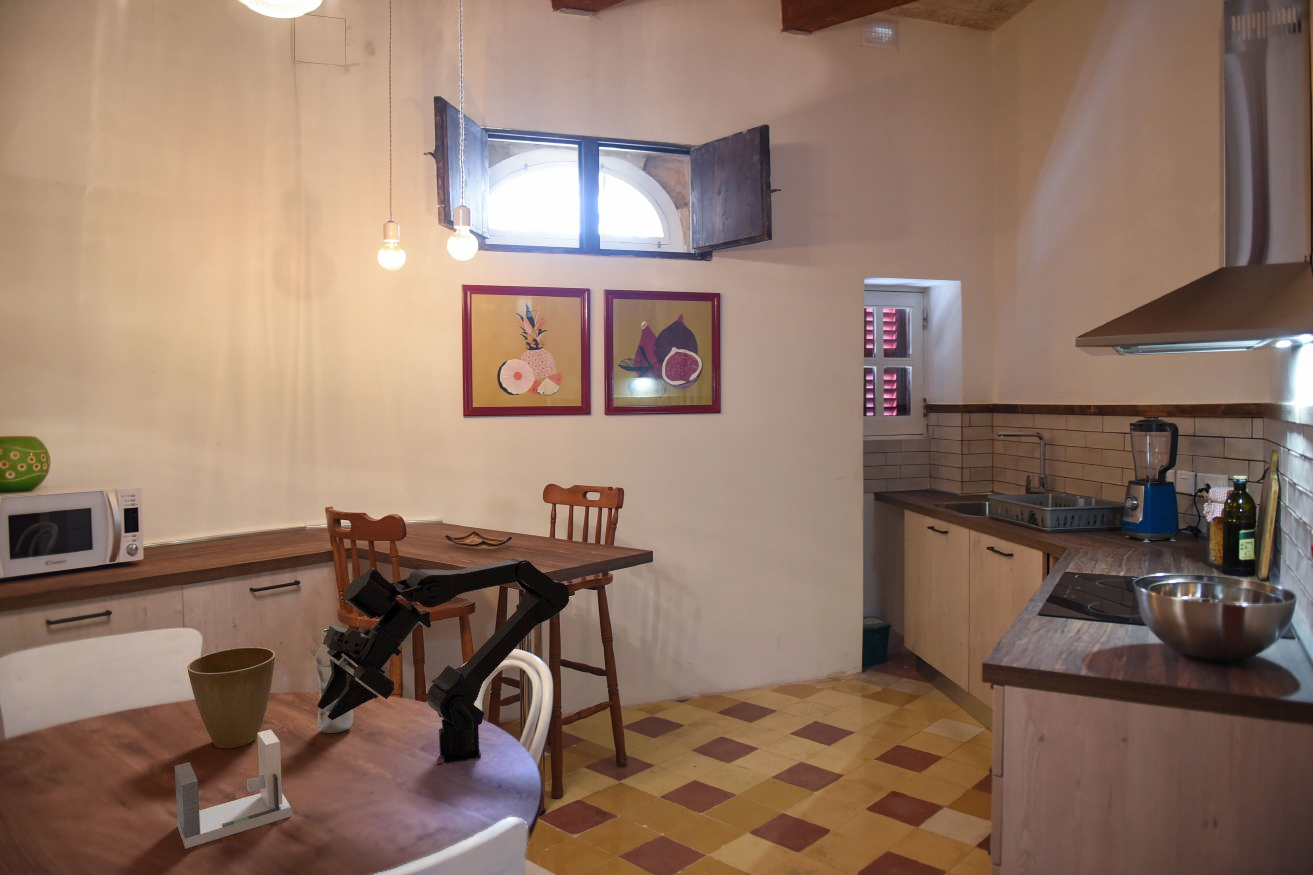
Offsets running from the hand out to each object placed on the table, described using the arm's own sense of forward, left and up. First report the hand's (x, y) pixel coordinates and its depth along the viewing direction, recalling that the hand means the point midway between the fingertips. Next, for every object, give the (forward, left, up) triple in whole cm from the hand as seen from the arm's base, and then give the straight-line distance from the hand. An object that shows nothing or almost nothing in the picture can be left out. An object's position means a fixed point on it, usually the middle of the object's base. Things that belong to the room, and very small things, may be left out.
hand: (324, 713), depth 134 cm
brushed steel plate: (+19, +6, -12) cm, 23 cm away
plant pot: (+18, -29, -14) cm, 37 cm away
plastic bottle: (0, -27, -14) cm, 30 cm away
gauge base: (+13, +4, -13) cm, 19 cm away
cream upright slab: (+9, +4, -12) cm, 15 cm away
